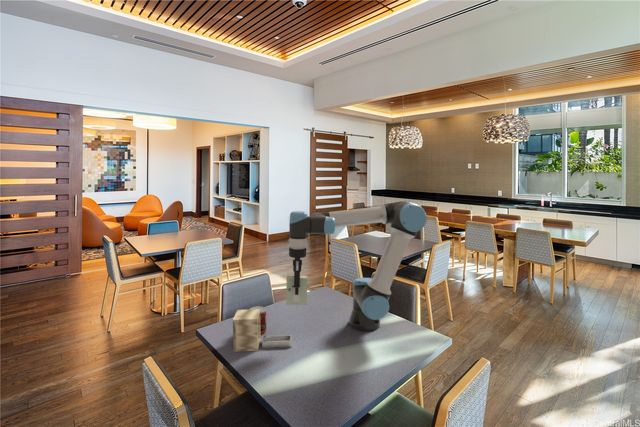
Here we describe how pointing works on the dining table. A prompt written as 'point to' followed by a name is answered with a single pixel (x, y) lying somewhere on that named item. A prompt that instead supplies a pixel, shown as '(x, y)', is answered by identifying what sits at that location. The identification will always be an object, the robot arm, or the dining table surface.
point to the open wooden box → (246, 330)
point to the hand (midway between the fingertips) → (296, 299)
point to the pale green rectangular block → (291, 291)
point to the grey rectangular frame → (277, 341)
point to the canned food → (261, 318)
